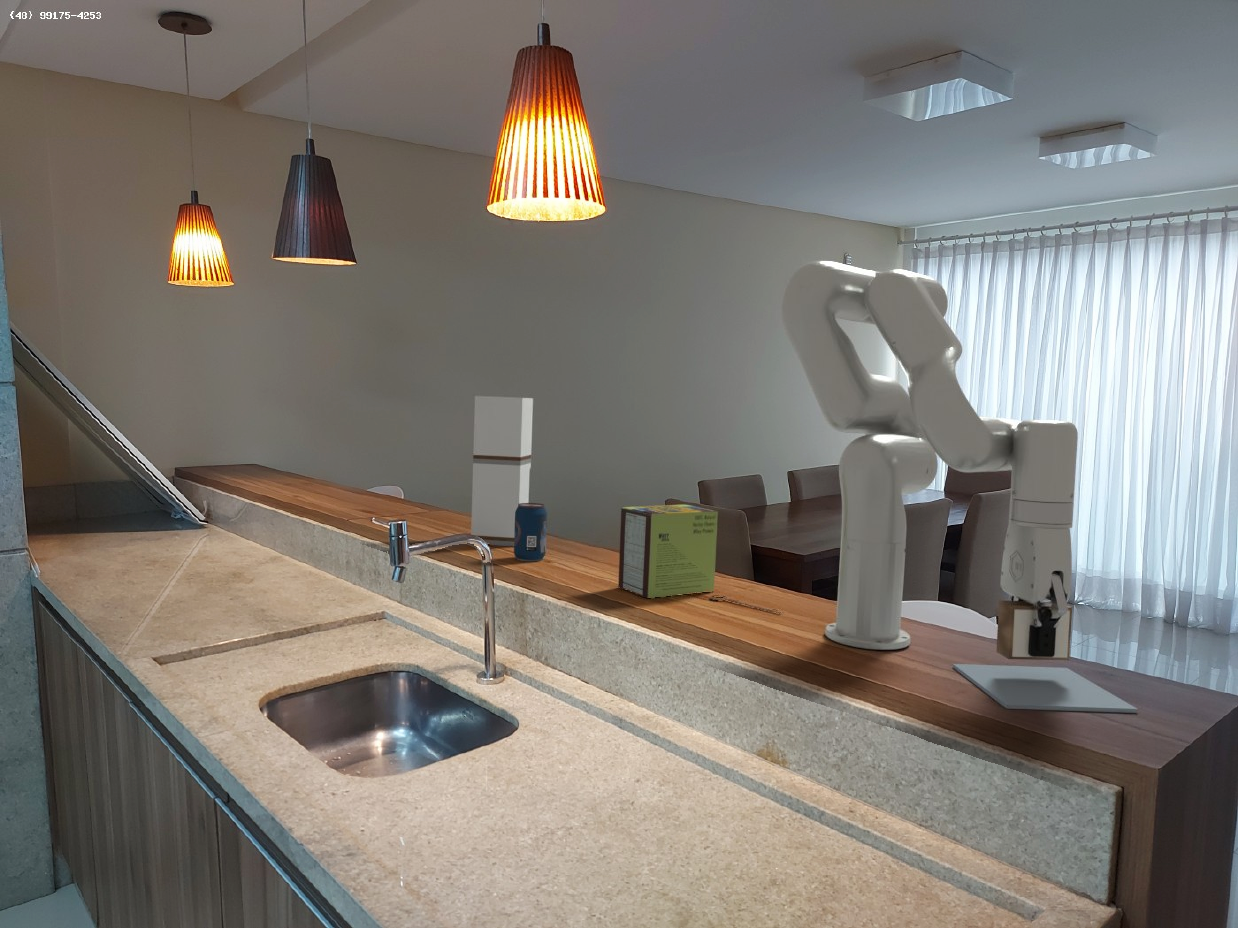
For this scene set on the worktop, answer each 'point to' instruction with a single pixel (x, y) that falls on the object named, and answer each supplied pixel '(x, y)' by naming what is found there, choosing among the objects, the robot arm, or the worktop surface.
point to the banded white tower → (500, 465)
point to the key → (742, 603)
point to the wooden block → (1016, 631)
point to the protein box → (667, 550)
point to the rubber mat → (1042, 688)
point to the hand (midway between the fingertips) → (1032, 649)
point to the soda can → (530, 532)
